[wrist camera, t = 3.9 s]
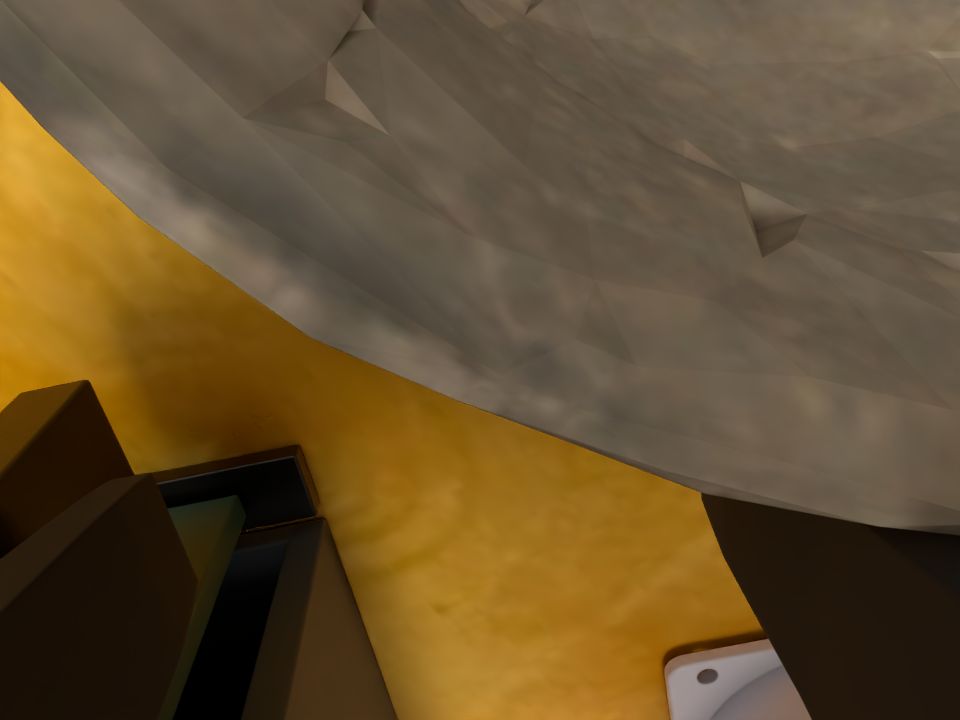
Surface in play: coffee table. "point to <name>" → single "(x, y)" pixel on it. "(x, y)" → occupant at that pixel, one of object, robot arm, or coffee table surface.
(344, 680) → the cabinet
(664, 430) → the bowl
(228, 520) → the sliding door
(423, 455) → the coffee table surface
